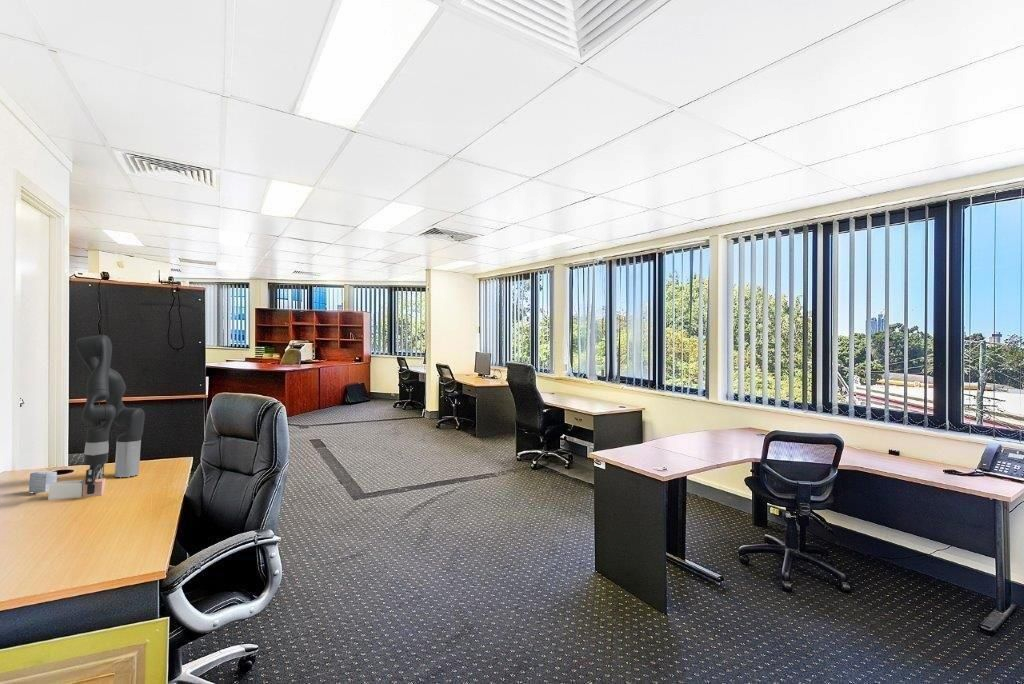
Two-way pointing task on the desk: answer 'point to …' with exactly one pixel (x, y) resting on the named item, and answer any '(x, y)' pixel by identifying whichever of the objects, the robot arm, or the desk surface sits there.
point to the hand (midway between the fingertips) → (93, 490)
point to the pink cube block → (98, 488)
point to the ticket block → (66, 489)
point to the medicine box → (41, 481)
